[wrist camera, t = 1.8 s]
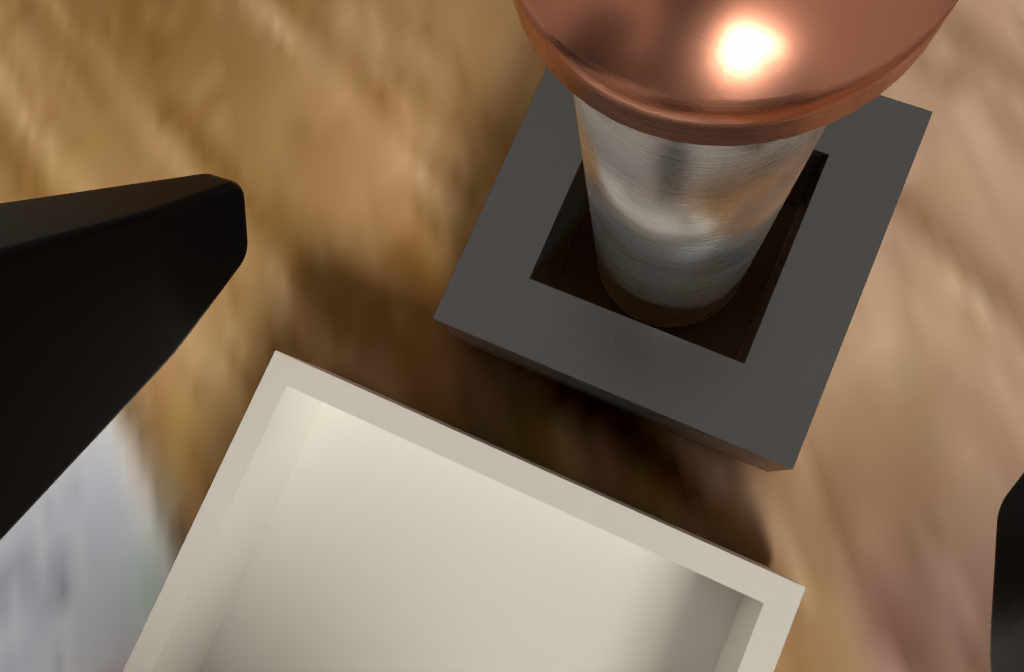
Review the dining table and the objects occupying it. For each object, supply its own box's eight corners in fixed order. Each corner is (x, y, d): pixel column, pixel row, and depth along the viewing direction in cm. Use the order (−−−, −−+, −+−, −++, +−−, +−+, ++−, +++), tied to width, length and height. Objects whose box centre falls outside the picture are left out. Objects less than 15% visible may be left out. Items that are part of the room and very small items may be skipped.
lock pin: (724, 376, 19) (903, 170, 7) (548, 306, 20) (415, 8, 8) (794, 205, 20) (1083, -286, 7) (619, 144, 21) (604, -387, 8)
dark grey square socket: (767, 471, 19) (793, 469, 16) (460, 342, 20) (432, 318, 18) (887, 167, 20) (932, 112, 17) (584, 66, 21) (577, -1, 18)
